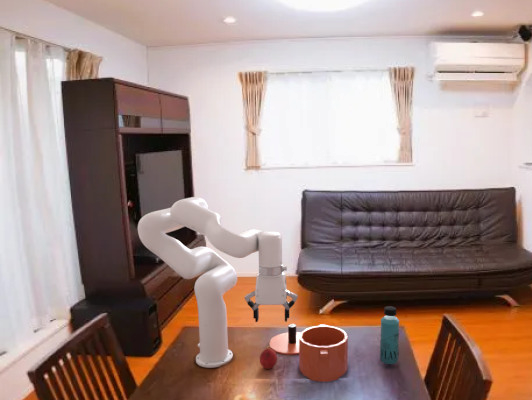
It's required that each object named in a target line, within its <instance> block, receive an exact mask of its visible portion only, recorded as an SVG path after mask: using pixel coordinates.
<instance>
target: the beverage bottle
mask: <svg viewBox="0 0 532 400" xmlns="http://www.w3.org/2000/svg"><path fill="white" fill-rule="evenodd" d="M383 314H384V316H383V317H381V319H380V340H379V343H380V344H379V359H380V361H381V362H382V363H384V364H387V365H394V364H396V363H398V361H399V358H400V357H399V355H400V352H399V348H400V347H399V346H400V344H399V343H400V341H399V340H400V319H399V318H398V317H397V308H396V307H395V306H391V305H389V306H388V305H387V306H385V307H384V310H383Z"/></svg>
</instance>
